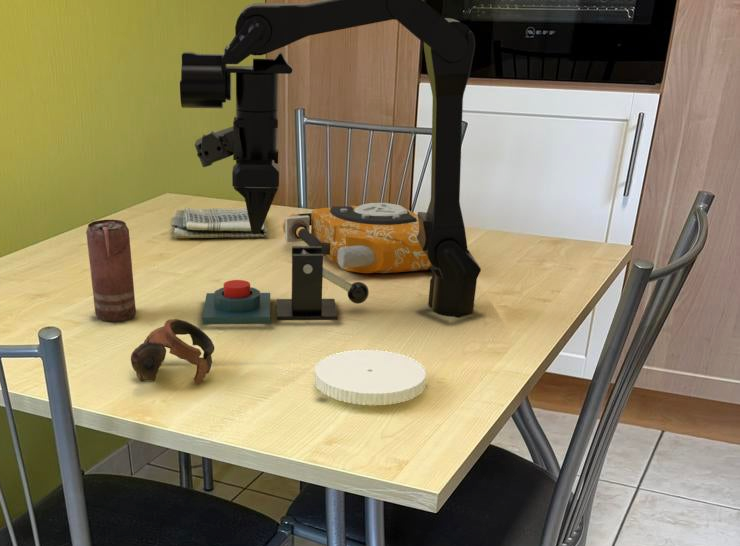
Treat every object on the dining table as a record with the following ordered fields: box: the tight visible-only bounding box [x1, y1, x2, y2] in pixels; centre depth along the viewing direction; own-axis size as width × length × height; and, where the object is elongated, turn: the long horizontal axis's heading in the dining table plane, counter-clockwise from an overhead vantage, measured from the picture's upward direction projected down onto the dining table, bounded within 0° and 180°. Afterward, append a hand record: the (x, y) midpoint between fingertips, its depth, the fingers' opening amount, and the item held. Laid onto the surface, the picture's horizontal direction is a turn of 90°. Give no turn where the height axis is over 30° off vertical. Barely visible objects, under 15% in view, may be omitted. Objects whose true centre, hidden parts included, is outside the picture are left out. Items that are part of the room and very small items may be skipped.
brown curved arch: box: [130, 318, 215, 384], centre depth 119 cm, size 12×9×8 cm
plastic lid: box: [313, 349, 427, 406], centre depth 117 cm, size 14×14×2 cm
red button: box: [223, 279, 251, 298], centre depth 139 cm, size 4×4×2 cm
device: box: [281, 202, 438, 274], centre depth 163 cm, size 23×8×30 cm
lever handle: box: [301, 250, 370, 304], centre depth 138 cm, size 12×3×3 cm
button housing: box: [201, 286, 271, 325], centre depth 140 cm, size 10×11×4 cm
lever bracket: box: [276, 245, 339, 321], centre depth 138 cm, size 9×8×10 cm
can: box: [85, 219, 137, 323], centre depth 137 cm, size 6×6×14 cm
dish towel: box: [170, 207, 269, 239], centre depth 183 cm, size 19×18×3 cm
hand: (256, 225), depth 134 cm, fingers open, 9 cm apart
